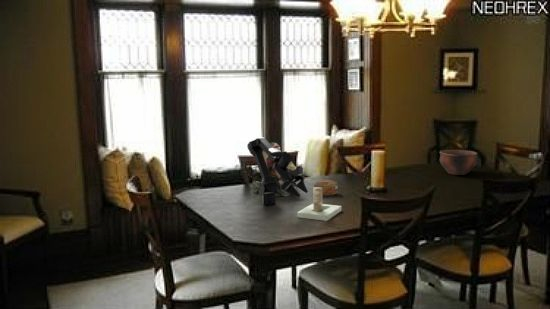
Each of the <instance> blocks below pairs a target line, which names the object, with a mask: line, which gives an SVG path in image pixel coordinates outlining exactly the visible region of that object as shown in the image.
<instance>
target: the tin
mask: <svg viewBox="0 0 550 309" xmlns="http://www.w3.org/2000/svg"><path fill="white" fill-rule="evenodd" d="M315 187H321V188H322V197H324V196H332V195H335V194H337V193H338V192H339V190H340V186H339V183H338V182H337V181H336V180H321V181H317V182H315V184H314V185H313V188H315Z"/></svg>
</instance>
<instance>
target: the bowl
mask: <svg viewBox="0 0 550 309" xmlns="http://www.w3.org/2000/svg"><path fill="white" fill-rule="evenodd" d="M439 154H440V157H439V162H440V165H441V166H442V168H444V169H445V171H446V172H447V173H448V174H449V175H454V176H464V175H467V174H468V173H470V172H471V171H472V169H474V167H475V166H476V165H477V158H478V152H477V151H472V150H465V149H464V150H462V149H445V150H444V149H443V150H440V151H439Z"/></svg>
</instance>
